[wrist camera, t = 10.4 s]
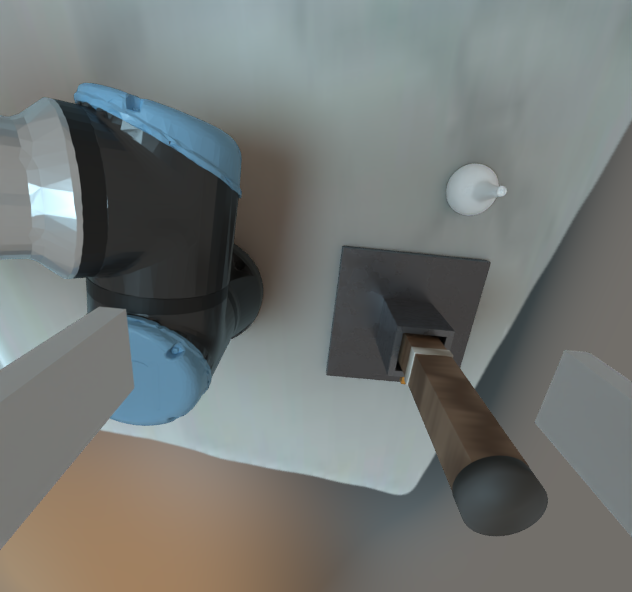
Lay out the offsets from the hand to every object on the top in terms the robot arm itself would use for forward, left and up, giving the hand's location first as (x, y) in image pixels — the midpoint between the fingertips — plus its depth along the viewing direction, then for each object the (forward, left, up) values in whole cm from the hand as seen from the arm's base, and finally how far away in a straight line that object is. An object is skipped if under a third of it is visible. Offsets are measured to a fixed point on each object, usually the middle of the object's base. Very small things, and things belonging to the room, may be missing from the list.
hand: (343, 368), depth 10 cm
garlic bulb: (+18, +5, -37) cm, 41 cm away
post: (+13, -14, -29) cm, 34 cm away
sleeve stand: (+13, -14, -37) cm, 41 cm away
